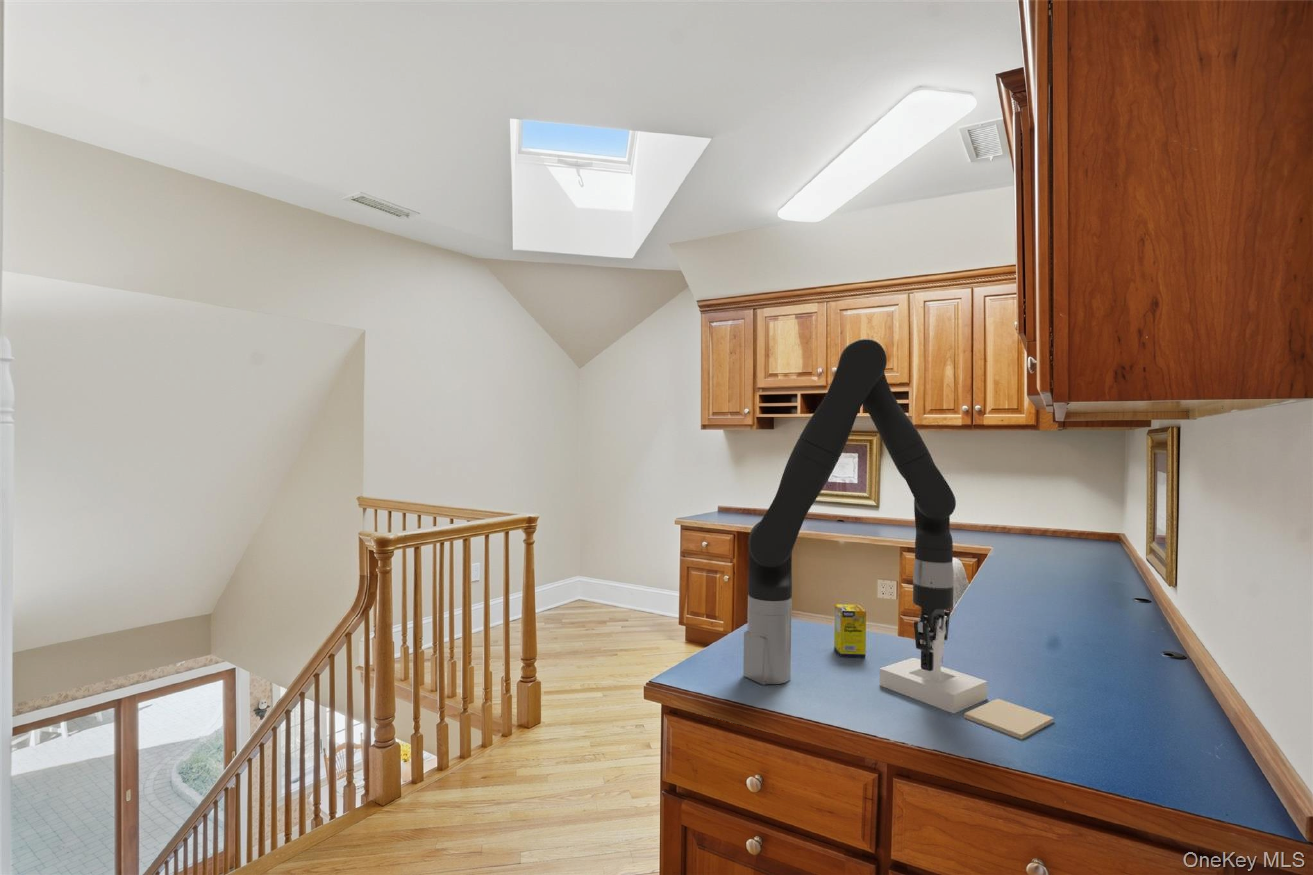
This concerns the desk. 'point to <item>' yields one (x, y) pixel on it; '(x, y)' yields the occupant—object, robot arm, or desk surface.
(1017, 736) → the mat
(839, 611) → the supplement box
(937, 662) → the perfume bottle
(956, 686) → the rectangular block
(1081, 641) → the desk surface
